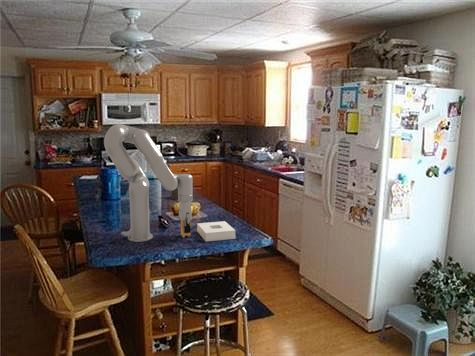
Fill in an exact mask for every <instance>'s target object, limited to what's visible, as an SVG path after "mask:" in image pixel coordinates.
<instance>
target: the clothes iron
mask: <svg viewBox="0 0 475 356" xmlns="http://www.w3.org/2000/svg"><path fill="white" fill-rule="evenodd" d="M194 185H195V184H194V182H193V187H194ZM173 199H178V187H177V188H176V189H175V190H173V191H171V200H173Z"/></svg>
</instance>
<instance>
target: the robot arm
mask: <svg viewBox="0 0 475 356" xmlns="http://www.w3.org/2000/svg"><path fill="white" fill-rule="evenodd" d="M123 142H124V143H129V144H133V145H134V146H135V147H136V148H137V150H138V152H139V153H140V154H141V156H142V157H143V159H144V161H145V162H146V163H147V165H148V167H149V168H150V170H151V171H152V173H153V174H154V175H155V177H156V179H157V180H158V182H159V183H160V184H161V186H162V187H163V189H165V190H166V191H168V192H172V191H173V190H175V189H176V188H177V189H178V200H177V201H178V202H179V203H178V217H179V219H180V221H181V220H182V221H183V220H184V222H185V226H184V233H190V232H192V230H191V225H190V220H191V221H192V202H193V201H194V200H193V199H194V198H193V197H194V196H193V195H194V194H193V193H194V192H193V191H194V186H193V183H194V182H193V180H194V179H193V175H191V174H189V173H181V174H180V173H179V174H177V173H173V172H172V171H171V170H170V168H169V166H168V165H167V162H166V161H165V159H164V156H163V154H162V152H161V151H160V149H159V148H158V146H157V145H156V144H155V142H154V141H153V139H152V138H151V135H150V133H149V131H148V130H145V129H142V128H138V127H133V126H130V125H126V124H122V123H121V124H120V123H117V124H113V125H112V126H111V127H109V129H108V130H107V131H106V133H105V136H104V137H103V145H104V149H105V151H106V153H107V155H108V156H109V158H110V159H111V162H112V163H113V165H114V166H115V168H116V170H117V172H118V173H119V175H120V177H122V178H124V179H126V181H127V182H128V184H129V185H128V195H129V196H128V197H129V214H130V215H129V216H130V228H129V230H128V231H121V236H124V237H127V240H128V241H130V242H133V243H134V242H135V243H141V242H148V241H151V240H153V238H154V234H152V233H150V229H151V228H150V227H151V226H150V197H149V196H150V195H149V194H150V193H149V189H150V181H149V179H148V177H147V176H146V174H145V172H144V170H143V169H142V168H141V166H140V164H139V163H138V161H137V160H136V159H134V158H132V157H131V156H130V154H129V153H128V150H126V148H125V146H124V145H123ZM185 219H187V220H185ZM186 221H187V222H186Z"/></svg>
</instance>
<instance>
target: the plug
mask: <svg viewBox="0 0 475 356" xmlns="http://www.w3.org/2000/svg"><path fill="white" fill-rule="evenodd" d="M185 220H187V219H185ZM191 221H192V219H191V220H190V225H191V224H192V223H191ZM186 222H187V221H186ZM184 226H185V222H184V220H183V221H182V220H181V219H180V235H181V237H182V238H185V237H186V236H187V237H190V236H191V232H192V231H191V232H190V233H184Z"/></svg>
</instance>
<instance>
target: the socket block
mask: <svg viewBox="0 0 475 356" xmlns="http://www.w3.org/2000/svg"><path fill="white" fill-rule="evenodd" d="M196 230H197V233H198V234H199V235H200V236H201V238H202V239H203V240H204V241H205V242H206V243H207V242H215V241H216V242H217V241H225V240H235V239H236V229H234V227H232V226H231V225H230V224H229V223H228V222H226V221H225V220H224V221H211V222H209V221H208V222H200V223H199V222H198V223H196Z"/></svg>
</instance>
